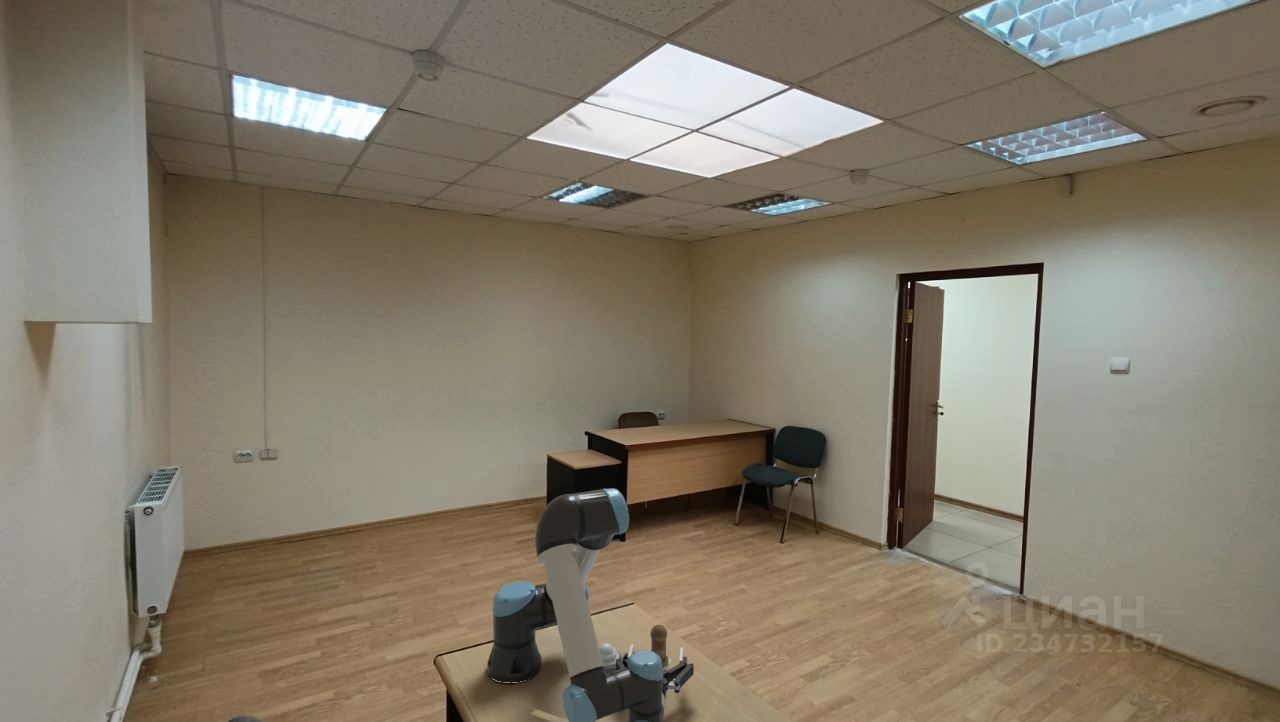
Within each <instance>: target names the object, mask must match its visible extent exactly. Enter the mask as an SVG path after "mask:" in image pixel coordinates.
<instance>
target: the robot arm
mask: <svg viewBox="0 0 1280 722" xmlns="http://www.w3.org/2000/svg"><path fill="white" fill-rule="evenodd" d="M625 499H626V498H625V497H624V495H623V494H622V493H621V492H620V490H618V489H617V488H601V489H594V490H590V491H583V492H581V491H580V492H576V493H567V494H562V495H558V496H557V497H555V498H554V499H552V500H551V501H550V502H549V503H548V504H547V505H545V507H544V509H543V511H542V512H541V513H540V514H541V515H540V517H539V519H538V522H537V525H536V530H535V537H534V538H535V541H534V543H535V551H536V556H537V560H538V561H540V562H541V563H543V567H544V572H545V576H546V582H545V583H541V584H536V585H535V584H534V583H533V582H532V581H529V580H523V581H522V580H518V581H513V582H512V581H511V582H510V583H507V584H505V585H502V587H500V588H499V589H498V590H497V591H496V592H495V594H494V597H493V605H492V606H493V607H492V614H493V618H492V619H493V623H492V626H493V627H492V629H493V630H492V631H493V645H492V647H491V651H490V653H489V657H488V660H487V665H486V666H487V667H486V670H487V672H488V674H489V676H490V677H491V678H493V679H495V680H497V681H501V682H511V683H512V682H520V681H524V680H527V681H529V680H531V679H533V678H534V677H536V676H537V675H538V674H539V673H540V671H541V669H542V656H541V653H540V652H539V649H538V644H537V640H536V630H539V629H543V628H546V627H551V626H555V625H557V628H558V631H559V632H558V633H559V637H560V640H561V641H560V642H561V646H562V651H563V655H564V659H565V663H566V667H567V671H568V676H569V682H570V684H569V685H568V686H567V687H565V688H564V691H563V693H562V700H563V704H562V705H563V711H564V714H565V717H566V718H567V721H568V722H596V721H598V720H600V719H603V718H606V717H609V716H611V715H614V714H617V713H620V712H623V711H626V710H628V712H627V714H628V715H627V716H628V717H627V718H628V719H627V721H628V722H664V716H665V715H664V713H665V706H666V699H667V691H668V690H674V693H675V694H679V693H680V691H681V688H682V687H683V686H684V685H685V684H686V683H687V681H689V680H690V678H692V677H693V675H694V671H695V668H694V663H693V662H692V663H688V657H687V656H684V647H682V646H681V647H680V650H679V662H678V664H676V665H675V666H673V667H671V668H670V669H668V670H666V669H664V670H663V668H662V660H661V658H660V656H658V655H657V654H656V653H655V652H653V651H651V650H648V649H639V650H636V651H635V649H634V647H635V645H634V644H633V643H632V644H630V647H629V650H628V652H625V653H624V654H623V655H622V658H623V660H621V659H616V670H617V671H615V672H611V673H608V674H606V673H605V670H604V666H603V662H602V658H601V654H600V650H599V648H600V647H599V643H598V639H597V636H596V635H597V634H596V631H595V628H594V623H593V619H592V615H591V612H590V607H589V601H588V600H589V596H590V595H589V590H588V586H587V584H586V581H587V580H588V579H587V578H588V576H589V574H590V573H591V570H592V568H593V566H594V565H595V562H596V560H597V557H598V555H599V554H600V552H601V550H603V549H605V548H608V546H609V545H610V543H611V541H612V540H613V538H614V536H615V535H622V534H624V533H626V532H627V531H628V529H629V526H630V514H629V509H628V505H627V502H626V500H625ZM487 672H486V673H487ZM488 674H487V675H488ZM535 675H536V676H535ZM489 676H488V677H489ZM532 677H533V678H532ZM530 678H531V679H530ZM528 679H529V680H528ZM524 682H525V681H524Z"/></svg>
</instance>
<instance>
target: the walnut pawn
mask: <svg viewBox="0 0 1280 722" xmlns="http://www.w3.org/2000/svg"><path fill="white" fill-rule="evenodd" d="M649 633H650V638H651V644H650V645H651V647H650V648H651V650H650V651H653V652H655V653H656V654H657V655H658V656H660V658H661V660H662V667H665V666H667V665H668V666H669V664H668V658H669V657H668V656H667V637H668V632H667V628H666V627H665V626H664V625H662V624H656V625H654V626H652V628H651V630H650V632H649ZM668 666H667V667H668Z"/></svg>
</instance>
